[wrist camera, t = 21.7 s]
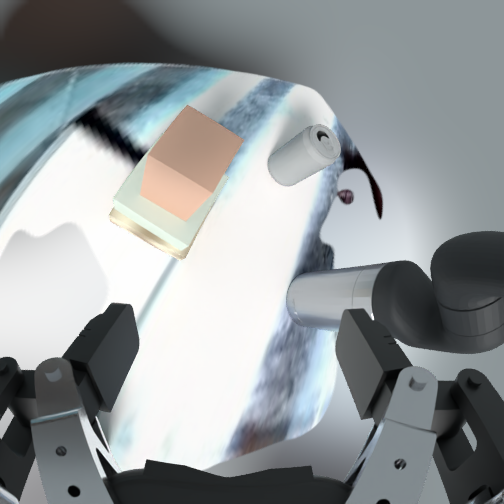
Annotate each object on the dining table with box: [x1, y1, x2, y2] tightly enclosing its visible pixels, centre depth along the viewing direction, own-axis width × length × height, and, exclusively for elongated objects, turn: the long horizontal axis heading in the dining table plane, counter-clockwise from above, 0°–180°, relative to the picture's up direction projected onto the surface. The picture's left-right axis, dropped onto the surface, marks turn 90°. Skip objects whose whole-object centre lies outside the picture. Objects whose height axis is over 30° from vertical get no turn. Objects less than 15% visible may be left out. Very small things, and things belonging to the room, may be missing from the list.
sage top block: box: [113, 134, 229, 251], centre depth 32 cm, size 10×10×4 cm
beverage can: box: [268, 124, 341, 186], centre depth 41 cm, size 6×6×12 cm
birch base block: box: [109, 206, 212, 260], centre depth 35 cm, size 11×11×4 cm
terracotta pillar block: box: [140, 105, 244, 221], centre depth 25 cm, size 6×6×10 cm
